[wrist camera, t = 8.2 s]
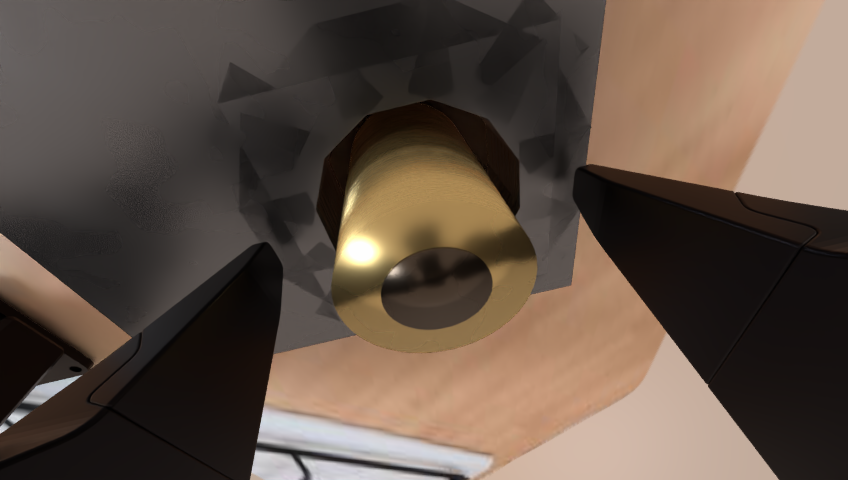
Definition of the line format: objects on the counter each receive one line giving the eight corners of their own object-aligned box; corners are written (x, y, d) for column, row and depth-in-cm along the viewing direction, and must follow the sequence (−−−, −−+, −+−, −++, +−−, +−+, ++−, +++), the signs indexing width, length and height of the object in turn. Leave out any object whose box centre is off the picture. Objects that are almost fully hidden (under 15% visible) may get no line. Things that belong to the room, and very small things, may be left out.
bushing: (370, 220, 14) (368, 370, 8) (333, 118, 11) (292, 236, 6) (469, 197, 14) (536, 332, 8) (456, 88, 11) (541, 177, 5)
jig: (214, 309, 16) (180, 375, 13) (-288, -241, 6) (-855, -449, 3) (535, 234, 15) (571, 285, 13) (552, -469, 6) (721, -915, 3)
